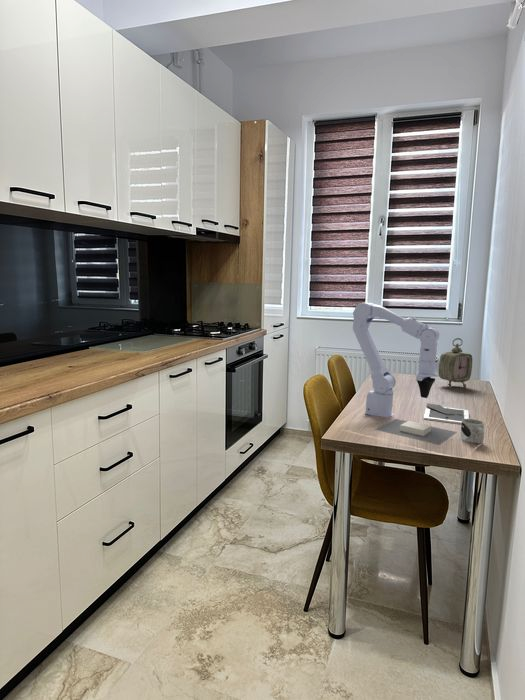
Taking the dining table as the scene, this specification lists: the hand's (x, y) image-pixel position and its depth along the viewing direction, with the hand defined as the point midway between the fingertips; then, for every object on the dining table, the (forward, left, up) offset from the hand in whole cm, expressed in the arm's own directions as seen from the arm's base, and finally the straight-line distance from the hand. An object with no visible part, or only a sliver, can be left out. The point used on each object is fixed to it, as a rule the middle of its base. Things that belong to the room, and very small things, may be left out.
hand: (424, 397), depth 175 cm
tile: (+3, -11, -8) cm, 14 cm away
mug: (+21, -11, -10) cm, 26 cm away
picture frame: (+4, +15, -10) cm, 18 cm away
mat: (+3, -14, -9) cm, 17 cm away
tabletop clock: (-12, +75, -10) cm, 77 cm away
